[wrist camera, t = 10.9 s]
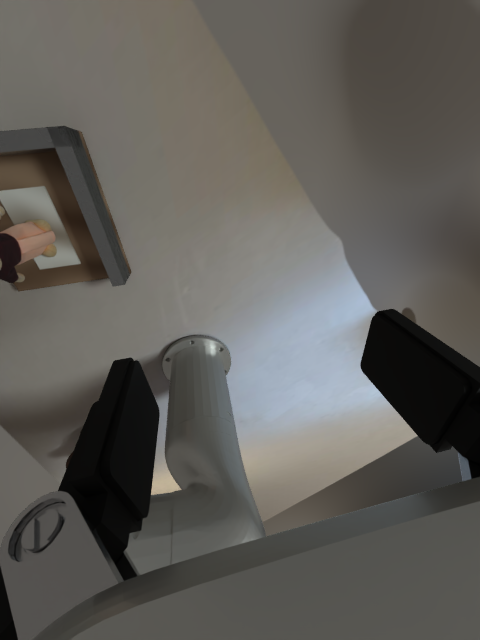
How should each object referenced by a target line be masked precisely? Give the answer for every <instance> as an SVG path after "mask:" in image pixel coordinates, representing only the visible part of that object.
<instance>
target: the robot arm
mask: <svg viewBox="0 0 480 640" xmlns="http://www.w3.org/2000/svg"><path fill="white" fill-rule="evenodd" d="M230 366H231V357H230V353H229V351H228V349H227V347H226V346H225V345H224V344H223V343H222V342H221V341H219V340H217V339H215V338H212V337H209V336H203V335H195V336H189V337H185V338H182V339H180V340H178V341H176V342H175V343H173V344H172V345H171V346H170V347H169V348H168V349H167V351H166V352H165V354H164V357H163V363H162V368H163V372H164V375H165V376H166V378H167V379H168V380H169V381H170V388H169V401H168V414H167V427H166V440H165V459H166V463H167V467H168V469H169V471H170V473H171V475H172V477H173V478H174V480H175V481H176V483H177V484H178V485H179V487H180V488H181V489H182V490H179V491H174V492H172V493H164V494H157V495H151V488H152V479H153V470H154V461H155V452H156V442H157V433H158V424H159V407H158V405H157V402H156V400H155V398H154V395H153V393H152V391H151V388H150V386H149V384H148V381H147V379H146V377H145V374H144V372H143V370H142V368H141V365H140V363H139V361H134V360H133V359H132V358H126V359H120V360H115V361H114V362H113V364H112V366H111V369H110V372H109V374H108V377H107V379H106V382H105V385H104V387H103V390H102V393H101V395H100V398H99V401H97V402H95V403H94V404H93V405H92V407H91V409H90V412H89V414H88V417H87V419H86V422H85V424H84V427H83V429H82V432H81V434H80V437H79V439H78V442H77V444H76V447H75V449H74V452H73V454H72V457H71V459H70V462H69V464H68V467H67V469H66V472H65V474H64V477H63V479H62V482H61V485H60V487H59V490H58V491H57V492H51V493H49V494H46V495H44V496H42V497H40V498H39V499H37V500H36V501H34V502H33V503H31V504H30V505H29V506H28V507H27V508H26V509H25V510H24V511H23V512H21V513H20V514H19V516H18V517H17V518H16V519H15V521H14V522H13V523H12V524H11V526H10V528H9V529H8V531H7V533H6V535H5V536H4V538H3V541H2V544H1V548H0V640H480V367H479V366H477V365H476V364H474V363H473V362H471V361H470V360H468V359H467V358H465V357H463V356H462V355H461V354H460V353H458V352H457V351H455V350H454V349H452V348H451V347H449V346H448V345H446V344H445V343H443V342H442V341H440V340H439V339H437V338H436V337H434V336H433V335H431V334H430V333H429V332H427V331H425V330H424V329H423V328H421V327H420V326H418V325H417V324H415V323H414V322H412V321H411V320H409V319H408V318H407V317H405V316H404V315H402V314H401V313H399V312H398V311H396V310H394V309H389V310H383V311H379V312H377V313H376V314H375V316H373V318H372V320H371V324H370V328H369V332H368V336H367V340H366V344H365V348H364V352H363V356H362V360H361V369H362V371H363V373H364V374H365V375H366V376H367V377H368V379H369V380H370V381H371V382H372V383H373V384H374V385H375V387H376V388H377V389H378V390H379V391H380V392H381V394H382V395H383V396H384V397H385V398H386V399H387V401H388V402H389V403H390V404H391V405H392V406H393V407H394V409H395V410H396V411H397V412H398V413H399V414H400V416H401V417H402V418H403V419H404V420H405V421H406V422H407V424H408V425H409V426H410V427H411V428H412V429H413V431H414V432H415V433H416V434H417V435H418V436H419V438H420V439H421V440H422V441H423V442H425V443H426V444H428V445H430V446H431V447H432V448H433V449H434V451H435V452H436V453H437V452H442V451H445V450H449V449H451V447H452V446H453V447H454V448H455V449H456V450H457V451H458V456H459V462H460V468H461V474H462V480H463V481H462V482H459V483H455V484H452V485H448V486H445V487H441V488H437V489H433V490H430V491H426V492H422V493H419V494H415V495H412V496H408V497H405V498H401V499H398V500H394V501H390V502H387V503H383V504H379V505H376V506H372V507H369V508H365V509H361V510H358V511H354V512H351V513H348V514H344V515H340V516H337V517H333V518H329V519H326V520H322V521H319V522H315V523H312V524H308V525H305V526H301V527H298V528H294V529H291V530H287V531H284V532H280V533H277V534H273V535H270V536H266V534H265V529H264V526H263V523H262V519H261V516H260V514H259V511H258V508H257V505H256V502H255V500H254V497H253V494H252V491H251V488H250V486H249V483H248V480H247V476H246V473H245V469H244V465H243V461H242V457H241V453H240V448H239V443H238V438H237V433H236V427H235V422H234V416H233V411H232V406H231V401H230V395H229V390H228V385H227V379H226V375H227V373H228V372H229V370H230Z"/></svg>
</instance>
